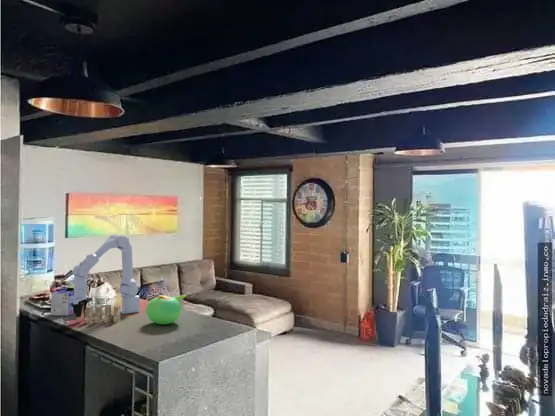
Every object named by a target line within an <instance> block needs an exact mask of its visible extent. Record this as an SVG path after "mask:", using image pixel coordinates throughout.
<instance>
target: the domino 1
mask: <svg viewBox="0 0 555 416" xmlns="http://www.w3.org/2000/svg"><path fill="white" fill-rule="evenodd" d="M84 318H85V313H84V305H83V308H82V313H81V317H76V316H75V320H76V321H77V322H78V321H82V320H83V319H84Z"/></svg>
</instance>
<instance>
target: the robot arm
mask: <svg viewBox="0 0 555 416" xmlns="http://www.w3.org/2000/svg"><path fill="white" fill-rule="evenodd" d="M110 249H118V250H119V251H121V263H122V264H121V267H122V270H121V271H122V279H121V281H120V284H119V285H120V286H119V288H118V290H119V293H120V295H121V309H120V314H122V315H123V314H132V313H134V314H135V313H140V311H141V310H140V309H141V307H140V306H141V305H140V304H141V303H140V295H139V294H138V295H137V293H138V292H139V287H138V286H137V282H136V280H135V279H134V271H133V270H134V267H133V246H132V245H131V243H130V239H129V238H128V237H127V236H126V235H117V234H112V235H110V236H109V237H108V238H107V239H106V240H105V242H104V243H103V244H102V245H101V246H100V247H99V248H98V249H97V250H96V251H95V252H94V253H90V254H87V255H86V257H85V259H83V260H82V261H80V262H79V264H76V265H75V266H74V267H73V268H72V270H71V273H72V276H73V279H74V282H73V297H72V299H73V303H72V307H73V312H74V314H75V318H76V317H81V313H82V308H83V305H84V314H86V307H88V306H87V305H88V303H89V298H88V294H87V290H88V289H87V285H88V284H87V283H88V282H87V281H88V280H87V279H88V277H87V276H89V273H90V270H91V269H92V268H94V267H95V266H96V265H97V264H98V263H99V261H100V258H101V257H103V255H104V254H106V253H107V252H108V251H109V250H110Z"/></svg>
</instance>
